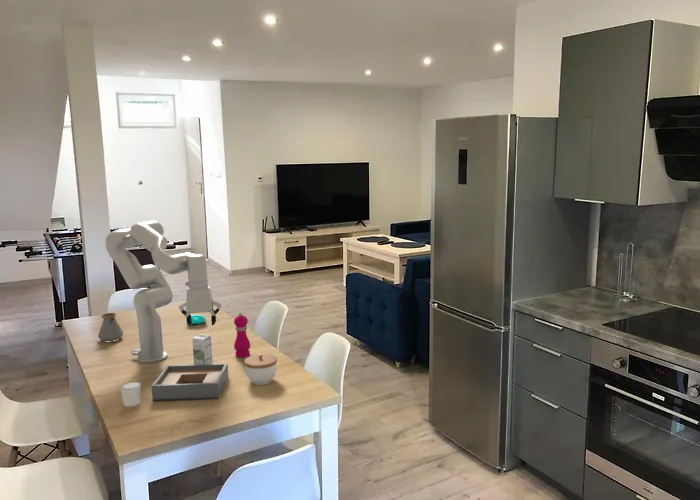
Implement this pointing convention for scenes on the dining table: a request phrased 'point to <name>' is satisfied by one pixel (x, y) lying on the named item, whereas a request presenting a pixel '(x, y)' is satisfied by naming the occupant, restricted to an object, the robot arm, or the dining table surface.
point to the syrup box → (202, 349)
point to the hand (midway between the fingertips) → (201, 324)
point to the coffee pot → (110, 328)
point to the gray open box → (190, 382)
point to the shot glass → (131, 393)
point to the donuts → (197, 319)
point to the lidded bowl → (261, 368)
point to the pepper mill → (241, 337)
